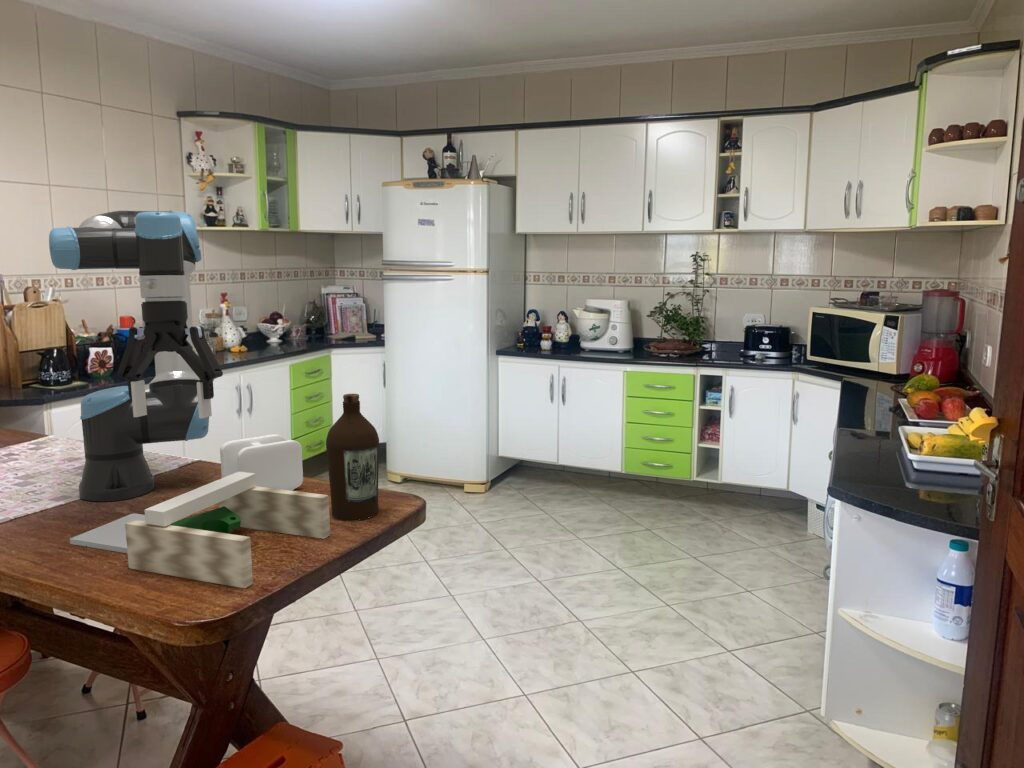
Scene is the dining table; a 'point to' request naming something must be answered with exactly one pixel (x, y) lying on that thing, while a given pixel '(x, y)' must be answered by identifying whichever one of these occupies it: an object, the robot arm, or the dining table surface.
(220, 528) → the clamp
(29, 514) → the dining table surface
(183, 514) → the strap bar
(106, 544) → the grey pad
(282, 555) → the dining table surface
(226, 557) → the stand
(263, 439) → the cable organizer
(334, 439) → the olive oil
